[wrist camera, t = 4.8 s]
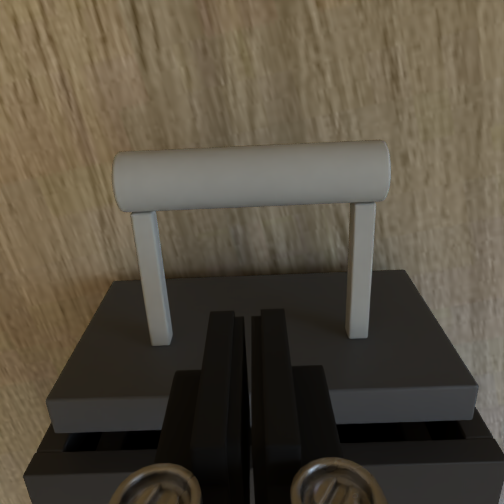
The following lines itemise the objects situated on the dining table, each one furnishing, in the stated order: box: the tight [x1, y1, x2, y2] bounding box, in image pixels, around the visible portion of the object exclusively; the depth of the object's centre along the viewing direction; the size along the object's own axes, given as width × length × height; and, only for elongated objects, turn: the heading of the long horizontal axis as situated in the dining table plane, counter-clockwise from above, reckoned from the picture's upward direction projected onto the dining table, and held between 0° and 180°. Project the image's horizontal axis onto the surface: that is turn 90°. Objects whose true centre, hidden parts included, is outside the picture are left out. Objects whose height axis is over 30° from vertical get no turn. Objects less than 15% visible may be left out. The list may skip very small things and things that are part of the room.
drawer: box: [46, 140, 478, 451], centre depth 17 cm, size 19×11×7 cm, turn 3°
